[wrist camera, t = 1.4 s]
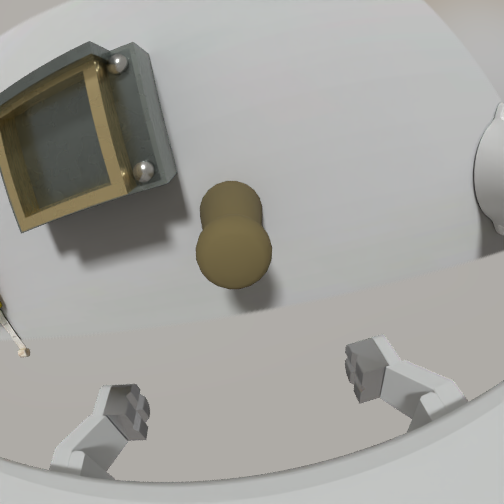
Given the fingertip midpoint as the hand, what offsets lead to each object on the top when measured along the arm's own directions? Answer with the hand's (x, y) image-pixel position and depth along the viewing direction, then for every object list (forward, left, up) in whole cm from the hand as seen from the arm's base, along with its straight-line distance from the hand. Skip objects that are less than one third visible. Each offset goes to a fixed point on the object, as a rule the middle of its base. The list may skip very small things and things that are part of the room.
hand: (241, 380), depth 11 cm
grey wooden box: (+12, -11, -21) cm, 26 cm away
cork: (0, 0, -21) cm, 21 cm away
